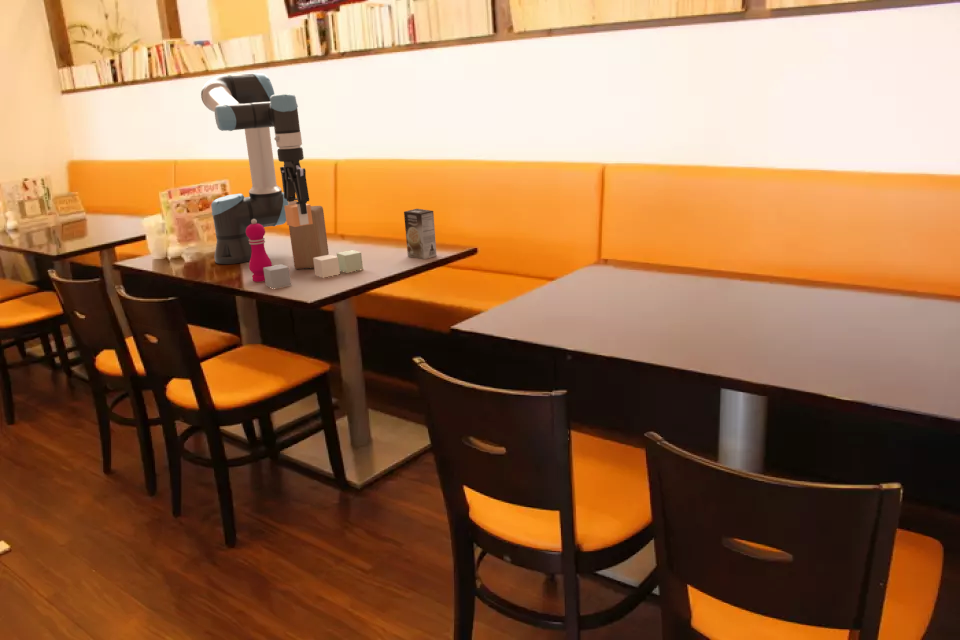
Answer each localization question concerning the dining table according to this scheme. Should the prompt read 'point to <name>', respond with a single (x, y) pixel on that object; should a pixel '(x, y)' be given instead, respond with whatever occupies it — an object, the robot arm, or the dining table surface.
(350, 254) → the sage cube
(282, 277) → the grey cube
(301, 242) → the wooden block
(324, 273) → the cream cube
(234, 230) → the robot arm
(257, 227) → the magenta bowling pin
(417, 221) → the coffee box
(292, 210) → the orange cube
